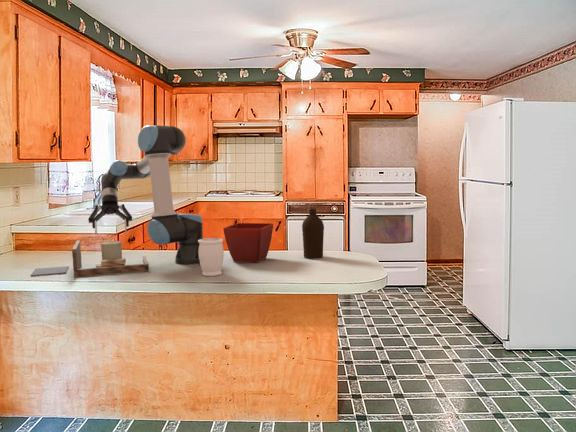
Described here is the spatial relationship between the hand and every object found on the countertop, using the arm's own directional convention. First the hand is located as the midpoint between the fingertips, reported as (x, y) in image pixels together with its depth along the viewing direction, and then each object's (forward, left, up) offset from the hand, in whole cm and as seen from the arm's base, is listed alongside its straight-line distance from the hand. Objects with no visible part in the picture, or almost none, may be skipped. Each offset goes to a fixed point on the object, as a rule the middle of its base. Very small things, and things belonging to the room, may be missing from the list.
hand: (111, 232), depth 248 cm
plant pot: (-66, -3, -15) cm, 68 cm away
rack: (-5, +13, -15) cm, 20 cm away
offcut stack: (-7, +19, -15) cm, 25 cm away
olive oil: (-97, -8, -15) cm, 99 cm away
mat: (+21, +19, -15) cm, 32 cm away
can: (-4, +10, -15) cm, 18 cm away
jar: (-53, +27, -15) cm, 62 cm away
